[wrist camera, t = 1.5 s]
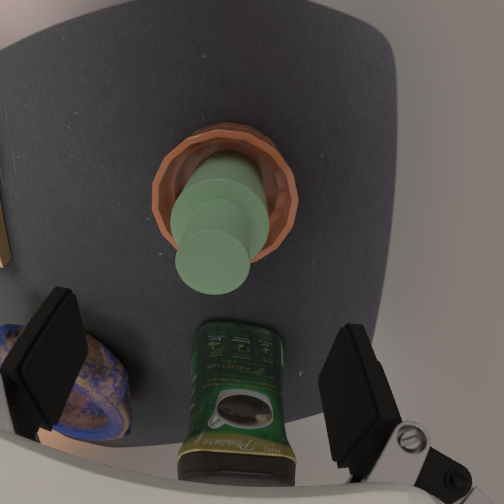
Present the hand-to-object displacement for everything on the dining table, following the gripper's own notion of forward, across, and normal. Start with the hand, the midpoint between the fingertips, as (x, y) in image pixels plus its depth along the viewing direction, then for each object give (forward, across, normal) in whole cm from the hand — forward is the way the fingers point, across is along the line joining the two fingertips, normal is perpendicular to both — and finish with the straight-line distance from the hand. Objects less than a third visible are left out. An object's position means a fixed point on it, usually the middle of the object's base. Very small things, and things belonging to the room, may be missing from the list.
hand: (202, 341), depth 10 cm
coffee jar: (+18, -3, +18) cm, 25 cm away
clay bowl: (+17, 0, 0) cm, 17 cm away
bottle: (+16, 0, 0) cm, 17 cm away
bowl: (+18, +17, +24) cm, 34 cm away
